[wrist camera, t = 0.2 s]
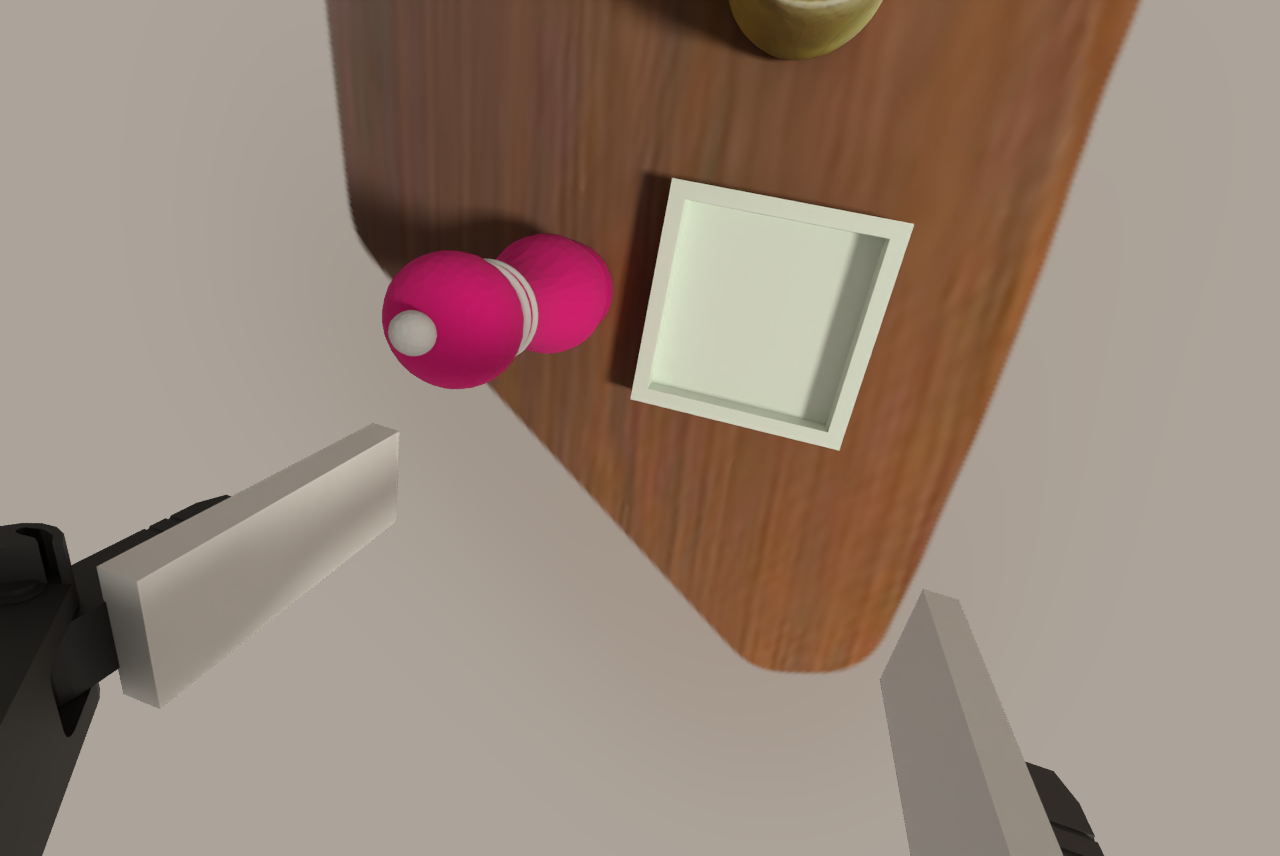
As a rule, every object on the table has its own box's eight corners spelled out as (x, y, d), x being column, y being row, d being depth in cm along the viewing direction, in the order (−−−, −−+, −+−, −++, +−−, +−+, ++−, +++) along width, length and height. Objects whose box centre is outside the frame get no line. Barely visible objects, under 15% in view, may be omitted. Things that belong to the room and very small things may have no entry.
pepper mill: (508, 314, 42) (300, 381, 24) (539, 215, 40) (333, 203, 21) (598, 356, 42) (459, 458, 23) (636, 259, 39) (513, 286, 21)
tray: (678, 180, 37) (672, 177, 35) (905, 224, 35) (914, 224, 33) (637, 390, 42) (630, 398, 40) (835, 438, 40) (839, 450, 38)
